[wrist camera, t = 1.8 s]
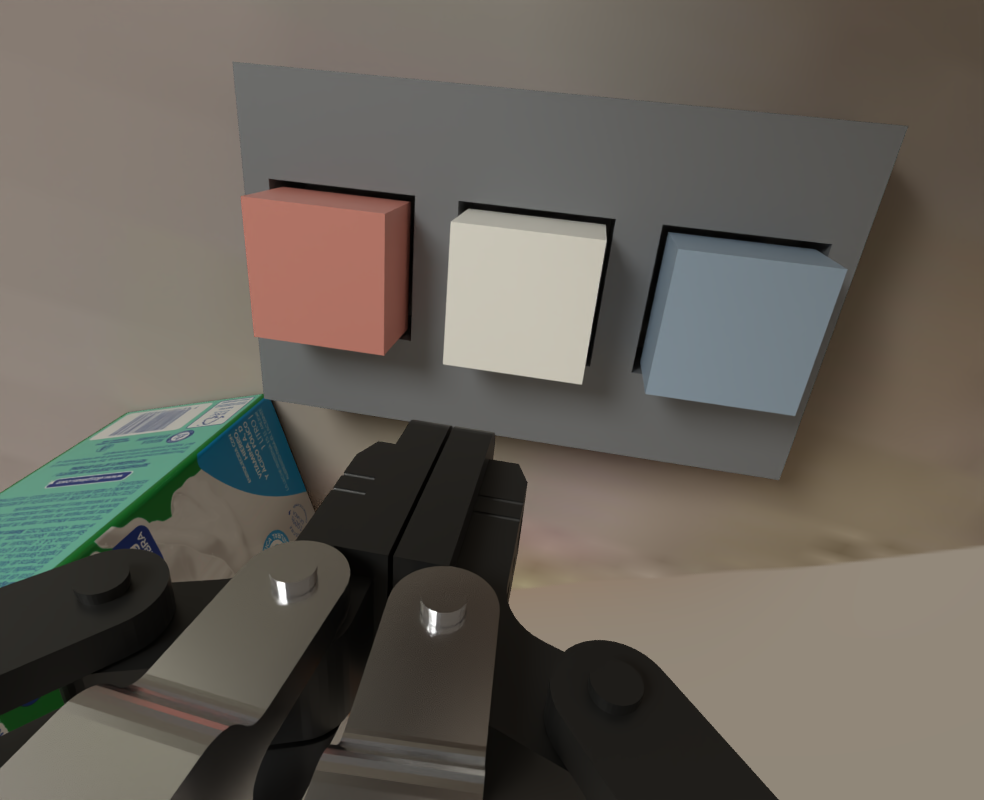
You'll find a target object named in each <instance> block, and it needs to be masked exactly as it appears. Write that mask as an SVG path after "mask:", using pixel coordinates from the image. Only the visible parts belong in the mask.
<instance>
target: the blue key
mask: <svg viewBox="0 0 984 800" xmlns="http://www.w3.org/2000/svg"><path fill="white" fill-rule="evenodd" d="M847 270H848V269H846V268H844V267H843V266H841V265H840V264H838V263H837V262H835V261H833V260H832V259H830V258H829V257H827V256H825V255H824V254H822V253H821V252H819V251H817V250H816V249H810V248H801V247H793V246H784V245H776V244H767V243H759V242H750V241H742V240H733V239H725V238H716V237H708V236H699V235H691V234H682V233H674V232H668V235H667V240H666V244H665V249H664V254H663V258H662V263H661V267H660V272H659V277H658V281H657V286H656V291H655V295H654V300H653V305H652V309H651V314H650V318H649V323H648V328H647V332H646V337H645V342H644V346H643V351H642V355H641V360H640V364H641V370H642V376H643V382H644V389H645V394H649V395H656V396H662V397H669V398H676V399H683V400H690V401H696V402H703V403H710V404H717V405H724V406H731V407H737V408H744V409H751V410H758V411H765V412H771V413H778V414H785V415H792V416H795V415H796V412H797V409H798V407H799V404H800V401H801V398H802V395H803V393H804V390H805V387H806V384H807V381H808V379H809V376H810V373H811V370H812V367H813V365H814V362H815V359H816V356H817V353H818V351H819V348H820V345H821V342H822V340H823V337H824V334H825V331H826V328H827V326H828V323H829V320H830V317H831V314H832V312H833V309H834V306H835V303H836V300H837V298H838V295H839V292H840V289H841V286H842V284H843V281H844V278H845V275H846V273H847Z"/></svg>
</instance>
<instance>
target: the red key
mask: <svg viewBox="0 0 984 800" xmlns="http://www.w3.org/2000/svg"><path fill="white" fill-rule="evenodd" d="M241 204H242V215H243V225H244V235H245V246H246V256H247V266H248V277H249V287H250V297H251V308H252V318H253V328H254V337H260V338H267V339H274V340H281V341H288V342H294V343H301V344H308V345H315V346H322V347H328V348H335V349H342V350H349V351H356V352H363V353H369V354H376V355H383V356H384V355H385V354H386V353H387V352H388V350H389V349H390V348H391V347H392V346H393V345H394V344H395V343H396V341H397V340H398V339H399V338H400V337H401V336H402V335H403V334H404V332H405V331H406V330H407V329H408V293H409V253H410V214H411V202H410V201H402V200H393V199H385V198H376V197H368V196H359V195H351V194H342V193H334V192H325V191H317V190H308V189H300V188H291V187H279V188H275V189H270V190H266V191H262V192H257V193H253V194H249V195H244V196H241Z"/></svg>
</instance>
